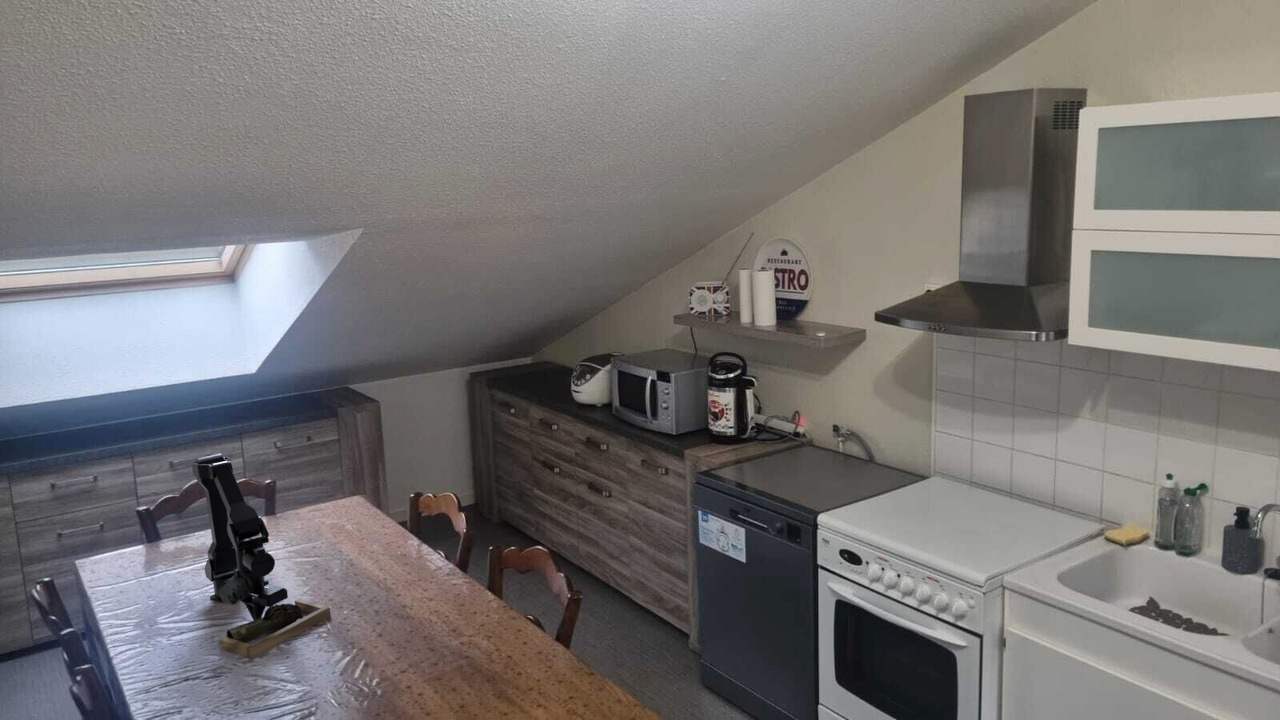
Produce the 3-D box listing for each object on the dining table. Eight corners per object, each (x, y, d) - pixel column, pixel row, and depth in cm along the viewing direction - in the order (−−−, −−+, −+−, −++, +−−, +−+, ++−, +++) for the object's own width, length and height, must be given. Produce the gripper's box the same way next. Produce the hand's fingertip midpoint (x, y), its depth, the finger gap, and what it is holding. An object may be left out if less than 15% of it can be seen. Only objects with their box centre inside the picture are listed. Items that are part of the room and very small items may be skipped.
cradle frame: (220, 648, 229) (219, 639, 228) (300, 607, 249) (299, 598, 249) (252, 659, 223) (250, 649, 223) (330, 615, 244) (329, 606, 243)
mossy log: (235, 650, 228) (232, 629, 227) (225, 641, 233) (221, 620, 232) (306, 624, 240) (303, 603, 239) (294, 616, 245) (291, 595, 244)
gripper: (197, 569, 234) (205, 628, 237) (247, 583, 225) (255, 644, 228) (235, 553, 243) (243, 609, 247) (285, 565, 234) (292, 624, 237)
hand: (257, 621), depth 239 cm, fingers closed
